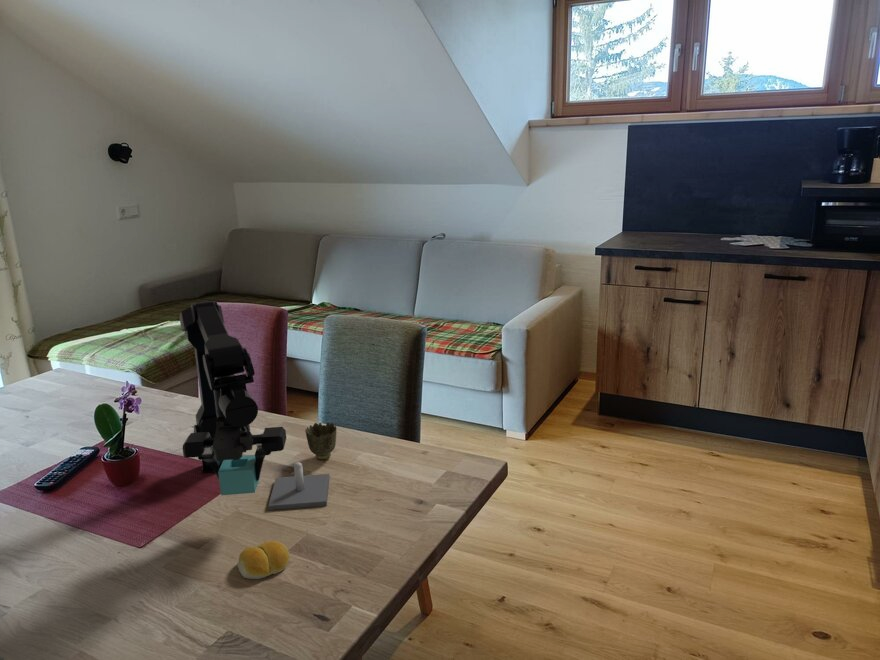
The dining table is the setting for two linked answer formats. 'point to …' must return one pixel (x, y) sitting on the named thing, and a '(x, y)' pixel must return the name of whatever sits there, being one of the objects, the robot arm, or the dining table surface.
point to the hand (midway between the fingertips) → (240, 481)
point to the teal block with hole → (238, 476)
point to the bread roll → (263, 560)
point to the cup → (321, 440)
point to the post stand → (299, 490)
